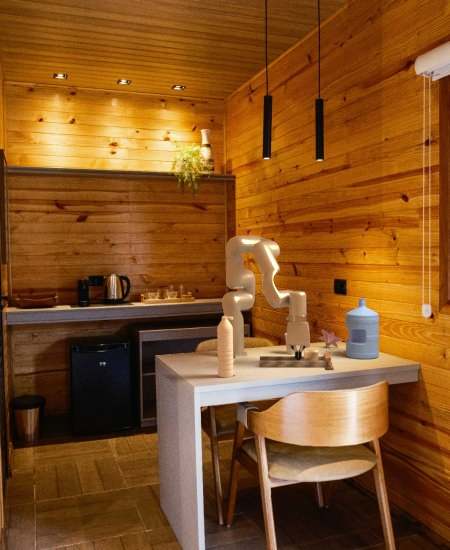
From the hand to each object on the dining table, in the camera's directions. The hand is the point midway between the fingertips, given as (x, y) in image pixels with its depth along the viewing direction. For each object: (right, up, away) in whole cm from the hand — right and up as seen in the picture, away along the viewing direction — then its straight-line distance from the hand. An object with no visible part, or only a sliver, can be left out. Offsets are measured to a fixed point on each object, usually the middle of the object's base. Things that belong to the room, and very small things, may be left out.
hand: (298, 360), depth 250 cm
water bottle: (-32, -4, -17) cm, 36 cm away
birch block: (+6, -2, -1) cm, 6 cm away
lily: (+23, -1, +45) cm, 51 cm away
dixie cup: (+1, -2, +31) cm, 31 cm away
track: (-1, -3, 0) cm, 3 cm away
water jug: (+34, -2, +21) cm, 40 cm away
